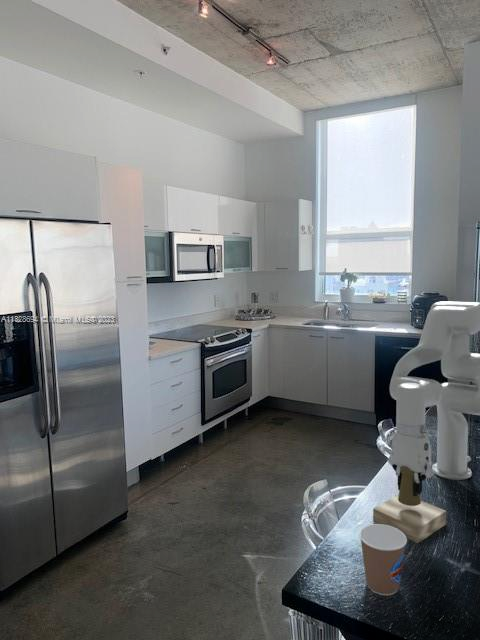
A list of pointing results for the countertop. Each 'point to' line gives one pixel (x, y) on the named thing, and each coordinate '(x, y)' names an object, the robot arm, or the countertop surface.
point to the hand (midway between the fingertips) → (409, 491)
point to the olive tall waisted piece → (407, 488)
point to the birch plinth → (410, 518)
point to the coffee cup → (382, 557)
